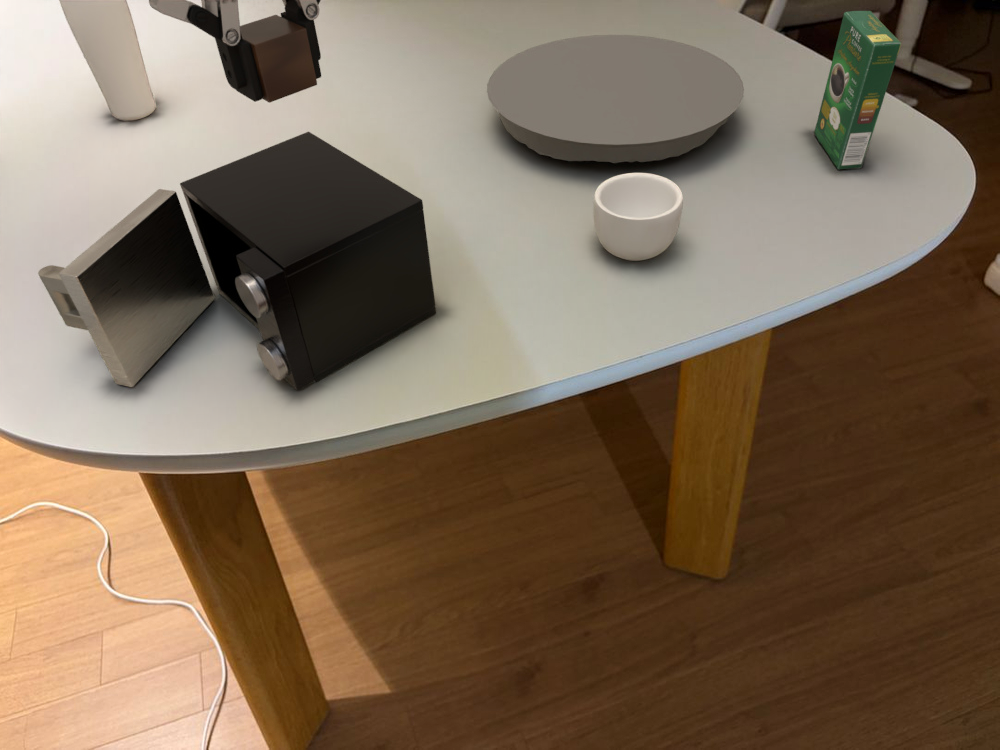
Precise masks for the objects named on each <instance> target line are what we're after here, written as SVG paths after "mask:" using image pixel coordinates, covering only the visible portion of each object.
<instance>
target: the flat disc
mask: <svg viewBox="0 0 1000 750" xmlns="http://www.w3.org/2000/svg"><path fill="white" fill-rule="evenodd" d="M486 85H487V86H486V93H487V97H488V100H489V102H490V103H491V105H492V107H493V108H494V109H495V110H496V111H497V114H498V116H499V119H500V120H501V121H500V122H501V123H502V125H503V127H504V128H505V130H506V131H507V132H508V133H509V134H510V136H512V137H513V138H514V139H515V140H516V141H517V142H519V143H521V144H525V146H527V148H528V149H531V150H533V151H534V152H535V153H537V154H538V155H539V156H542V155H543V156H547V157H551V158H552V159H556V160H562V161H568V162H584V161H585V162H590V161H595V162H598V163H599V162H603V163H604V162H605V163H608V162H609V163H612V164H617V163H618V164H619V163H625V162H628V163H634V162H639V163H645V162H652V161H663V160H665V159H668V158H674V157H679V156H681V155H683V154H687V153H689V152H690V151H691V150H693V149H695V148H698V147H701V146H702V145H704V144H705V143H706V142H707V141H708V140H709V139H710V138H711V137H713V136H714V135H715V134H716V133H717V131H718V130H719V128H721V127H722V126H723V125H725V124H726V123H727V121H728V119H729V118H730V115H732V114H733V113H734V112H735V111H736V110H737V108H739V106H740V105H741V103H742V100H743V99H744V93H745V87H744V82H743V80H742V78H741V76H740V74H739V73H738V72H737V71H736V69H735V68H734V67H732V65H730V63H728V62H727V61H726V60H724V59H723V58H720V57H719V56H717V55H715V54H713V53H711V52H709V51H707V50H704V49H702V48H700V47H696V46H694V45H690V44H687V43H684V42H681V41H676V40H671V39H666V38H660V37H655V36H645V35H636V34H635V35H634V34H633V35H632V34H597V35H596V34H595V35H584V36H583V35H582V36H574V37H569V38H563V39H559V40H557V39H556V40H552V41H550V42H545V43H541V44H538V45H535V46H532V47H530V48H527V49H525V50H523V51H521V52H518V53H516V54H514V55H513V56H511V57H510V58H507V59H506V60H504V61H503V62H502V63H501V64H500V65H498V66H497V68H496V69H495V70H493V71H492V74H491V75H490V76H489V78H488V82H487V84H486Z"/></svg>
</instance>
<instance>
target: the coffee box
mask: <svg viewBox="0 0 1000 750" xmlns="http://www.w3.org/2000/svg"><path fill="white" fill-rule="evenodd" d="M901 47H902V42H901V41H900V40H899V39H898V38H897V37H896V36H895V35H894V34H893V33H892V32H891V31H890V30H889V29H888V28H887V27H886V25H884V23H882V22H881V20H880V19H879V18H878V17H877V16H876V15H875V13H873V12H872V11H871V10H852V11H851V10H850V11H844V13H843V17H842V20H841V24H840V29H839V33H838V37H837V41H836V45H835V49H834V51H833V52H834V53H833V56H832V61H831V64H830V69H829V71H828V72H829V73H828V76H827V81H826V84H825V88H824V91H823V92H824V93H823V96H822V100H821V104H820V108H819V112H818V116H817V120H816V124H815V128H814V131H813V134H814V135H815V137H816V139H817V141H818V143H819V144H821V146H822V147H823V149H824V151H825V152H826V153H827V155H828V156H829V158H830V160H831V162H832V163H833V164H834V166H835V167H836V169H837V170H853V169H854V170H855V169H862V168H863V164H864V163H865V159H866V155H867V152H868V149H869V147H870V143H871V140H872V138H873V137H872V136H873V134H874V131H875V128H876V124H877V121H878V118H879V115H880V112H881V109H882V106H883V102H884V99H885V96H886V92H887V90H888V87H889V83H890V81H891V77H892V74H893V71H894V69H895V65H896V63H897V58H898V56H899V52H900V50H901Z"/></svg>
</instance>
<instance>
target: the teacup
mask: <svg viewBox="0 0 1000 750" xmlns="http://www.w3.org/2000/svg"><path fill="white" fill-rule="evenodd" d="M683 197H684V196H683V193H682V189H681V188H680V187H679V186H678V185H677V183H675V182H674V181H673V180H670V179H669V178H667V177H665V176H661V175H659V174H654V173H649V172H628V173H622V174H617V175H614V176H612V177H610V178H607V179H606V180H604V181H602V182H601V183H600V184H599V185H598V186H597V188H596V189H595V192H594V195H593V201H592V203H593V205H592V210H593V213H592V214H593V226H594V231H595V234H596V237H597V239H598V241H599V243H600V244H601V246H602V247H603V249H605V250H606V251H607V252H608V253H609V254H611V255H612V256H615V257H617V258H619V259H623V260H625V261H631V262H632V261H635V262H638V261H644V260H649V259H653V258H655V257H657V256H659V255H660V254H662V253H663V252H664V251H666V250H667V249H668V248H669V247H670V246H671V244H672V243H673V241H674V239H675V237H676V235H677V232H678V229H679V226H680V222H681V219H682V212H683V207H684V206H683V205H684V198H683Z"/></svg>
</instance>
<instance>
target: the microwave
mask: <svg viewBox="0 0 1000 750" xmlns="http://www.w3.org/2000/svg"><path fill="white" fill-rule="evenodd" d="M179 185H180V189H181V191H182V193H183V197H184V199H185V202H186V205H187V207H188V210H189V214H190V216H191V219H192V222H193V225H194V227H195V230H196V233H197V236H198V239H199V242H200V244H201V247H202V249H203V252H204V255H205V258H206V261H207V263H208V266H209V269H210V272H211V275H212V277H213V280H214V283H215V286H216V287H217V291H218V294H220V295H221V297H223V298H224V299H225V300H226V301H227V302H228V303H229V304H230V305H232V306H233V307H234V308H235V309H236V310H237V311H238V312H239V313H240V314H241V315H242V316H243V317H245V318H246V319H247V320H248V321H249V322H250V323H251V324H252V325H253V326H254V327H255V328H256V329H257V330H258V331H259V332H260V335H261V337H262V341H261V342H258V343H257V345H256V349H257V353H258V356H259V358H260V360H261V362H262V364H263V366H264V367H265V369H266V370H267V372H268V373H269V374H270V375H271V376H272V377H273V378H274V379H275V380H277V381H282V380H283V379H285V380H286V381H287V382H288V383H289V385H291V386H292V387H293V388H294V389H295V390H296V391H300V390H302V389H304V388H306V387H307V386H309V385H311V384H313V383H318V382H320V381H321V380H323V379H325V378H327V377H328V376H330V375H332V374H333V373H335V372H337V371H338V370H341V369H342V368H344V367H345V366H346V367H347V366H348V365H349V364H351V363H352V362H355V361H356V360H358V359H360V358H361V357H363V356H365V355H367V354H369V353H370V352H372V351H374V350H376V349H377V348H379V347H381V346H383V345H384V344H386V343H388V342H389V341H391V340H393V339H395V338H396V337H398V336H400V335H402V334H404V333H405V332H407V331H409V330H410V329H412V328H413V327H416V326H417V325H419V324H420V323H423V322H424V321H425V320H427V319H429V318H431V317H433V316H434V315H436V314H437V309H436V308H437V307H436V301H435V299H436V298H435V293H434V291H435V290H434V285H433V276H432V268H431V260H430V253H429V245H428V243H429V242H428V236H427V228H426V220H425V212H424V202H423V199H421V198H420V197H418V196H416V195H415V194H413V193H411V192H410V191H408V190H407V189H404V188H403V187H402V186H400V185H398V184H396V183H395V182H393V181H391V180H390V179H388V178H386V177H385V176H383V175H382V174H380V173H378V172H377V171H375V170H374V169H372V168H370V167H369V166H367V165H365V164H364V163H361V161H358V160H356V159H355V158H353V157H352V156H350V155H349V154H347V153H345V152H343V150H340V149H338V148H337V147H335V146H333V145H332V144H330V143H328V142H327V141H325V140H324V139H322V138H320V137H319V136H317V135H315V134H313V133H312V132H311V131H306V132H304V133H301V134H298V135H296V136H293V137H291V138H289V139H286V140H285V141H284V140H283V141H281V142H279V143H276V144H274V145H272V146H268V147H267V148H264V149H261V150H258V151H256V152H253V153H251V154H249V155H246V156H244V157H241V158H239V159H237V160H233V161H231V162H229V163H227V164H224V165H222V166H219V167H217V168H214V169H212V170H209V171H207V172H205V173H202V174H200V175H197V176H194V177H191V178H190V179H186V180H184V181H182V182H179Z"/></svg>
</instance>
